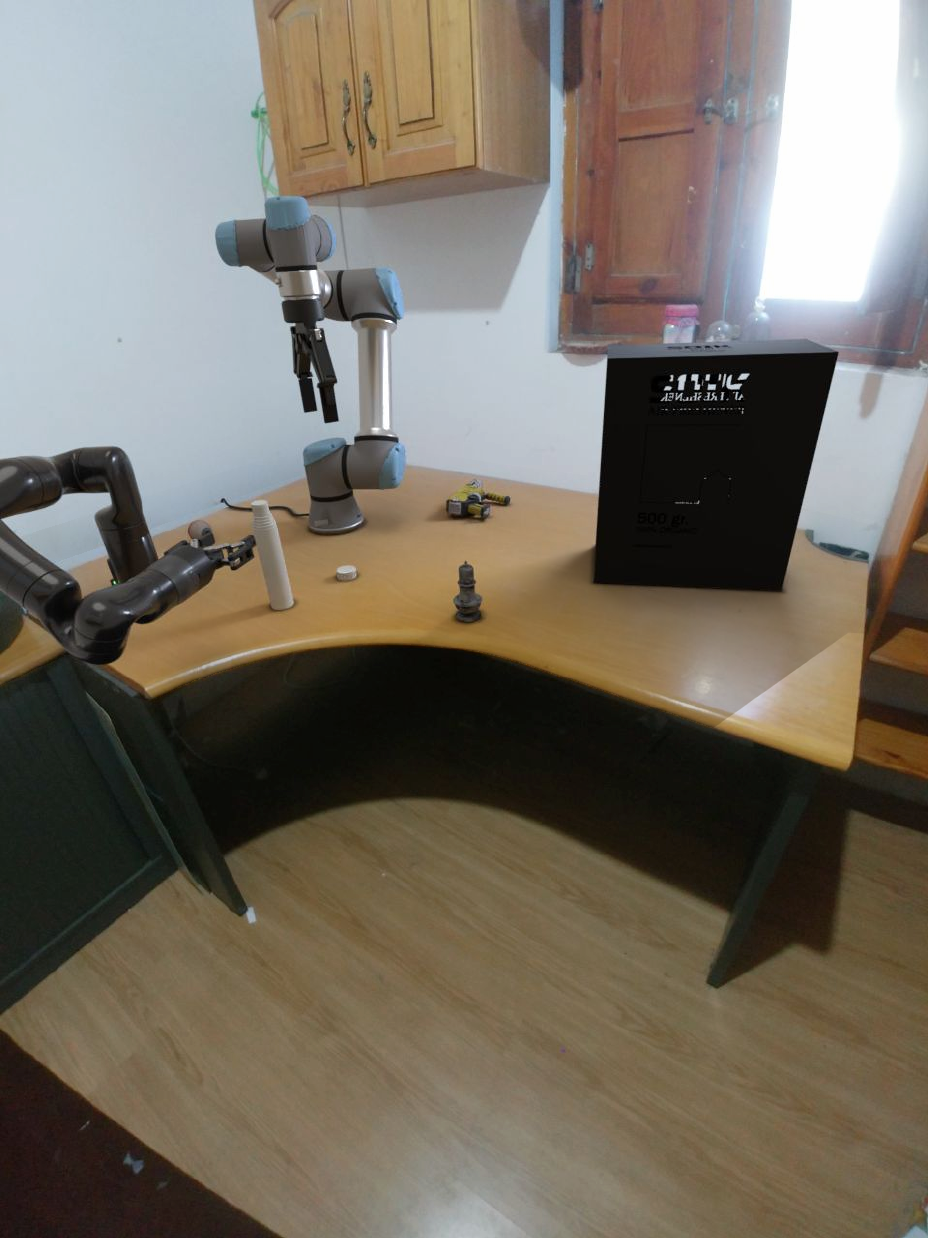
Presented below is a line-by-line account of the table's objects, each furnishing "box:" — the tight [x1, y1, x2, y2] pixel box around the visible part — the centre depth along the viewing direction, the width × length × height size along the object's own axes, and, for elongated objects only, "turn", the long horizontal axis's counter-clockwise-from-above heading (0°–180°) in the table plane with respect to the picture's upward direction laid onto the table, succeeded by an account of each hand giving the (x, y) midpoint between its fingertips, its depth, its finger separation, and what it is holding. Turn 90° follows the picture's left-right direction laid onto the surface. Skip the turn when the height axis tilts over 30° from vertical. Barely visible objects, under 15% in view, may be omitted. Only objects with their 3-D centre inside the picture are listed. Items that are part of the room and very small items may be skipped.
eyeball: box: [187, 519, 213, 540], centre depth 162 cm, size 6×6×6 cm
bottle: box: [250, 499, 295, 611], centre depth 124 cm, size 5×5×23 cm
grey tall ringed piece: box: [452, 560, 484, 623], centre depth 118 cm, size 6×6×12 cm
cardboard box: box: [593, 338, 840, 592], centre depth 124 cm, size 38×20×45 cm, turn 78°
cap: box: [336, 564, 358, 582], centre depth 140 cm, size 4×4×2 cm
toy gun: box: [445, 478, 511, 520], centre depth 176 cm, size 5×24×15 cm
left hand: (232, 538), depth 111 cm, fingers open, 8 cm apart
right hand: (320, 416), depth 122 cm, fingers open, 13 cm apart
